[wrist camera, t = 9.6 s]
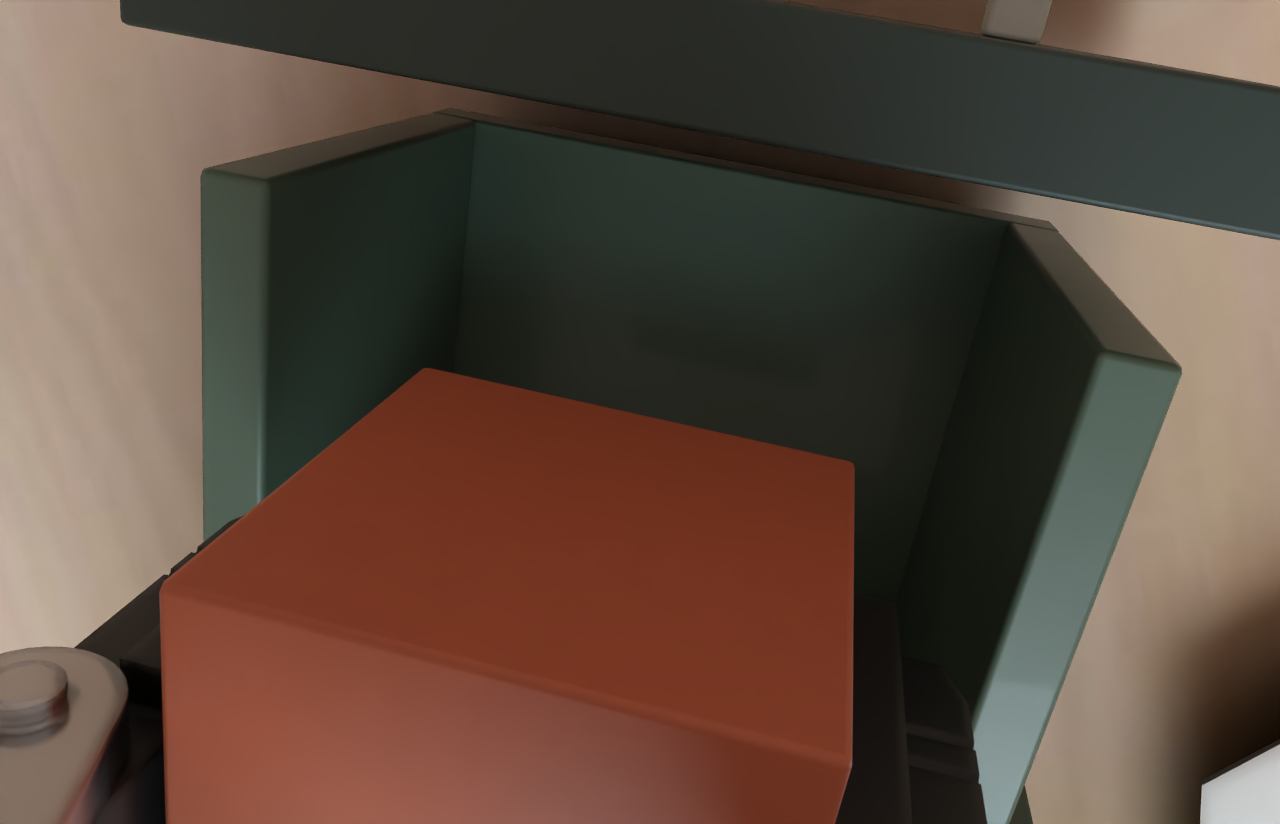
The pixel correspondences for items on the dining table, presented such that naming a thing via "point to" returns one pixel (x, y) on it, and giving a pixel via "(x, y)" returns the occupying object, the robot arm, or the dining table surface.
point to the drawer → (744, 276)
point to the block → (519, 626)
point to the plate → (1244, 790)
